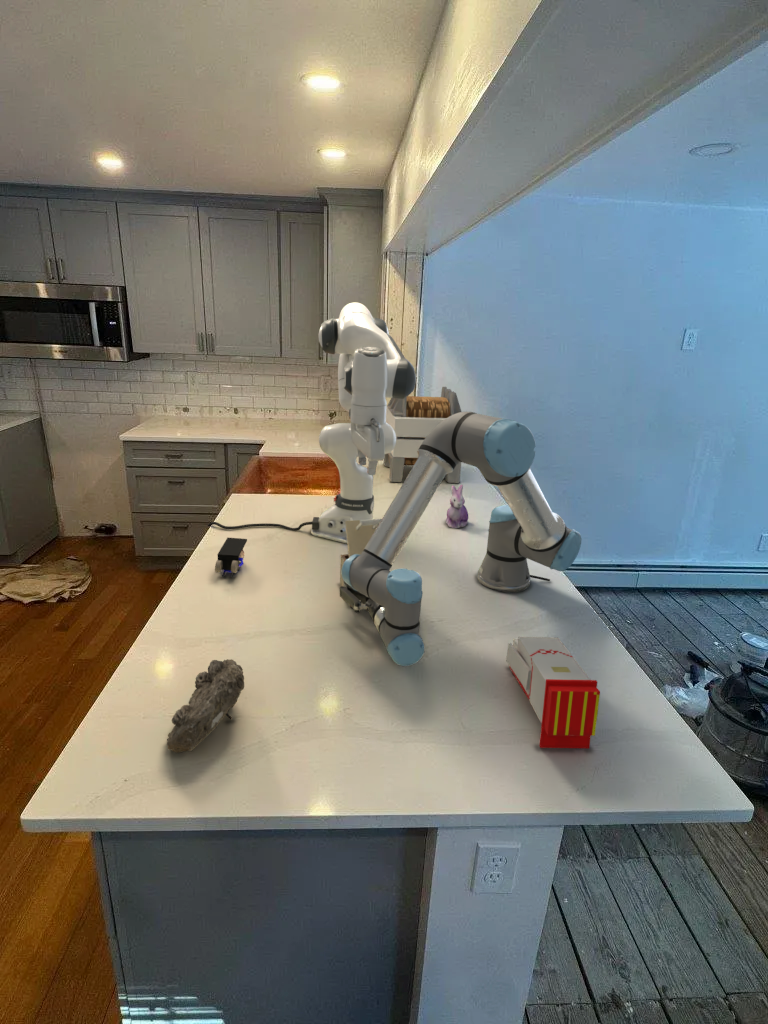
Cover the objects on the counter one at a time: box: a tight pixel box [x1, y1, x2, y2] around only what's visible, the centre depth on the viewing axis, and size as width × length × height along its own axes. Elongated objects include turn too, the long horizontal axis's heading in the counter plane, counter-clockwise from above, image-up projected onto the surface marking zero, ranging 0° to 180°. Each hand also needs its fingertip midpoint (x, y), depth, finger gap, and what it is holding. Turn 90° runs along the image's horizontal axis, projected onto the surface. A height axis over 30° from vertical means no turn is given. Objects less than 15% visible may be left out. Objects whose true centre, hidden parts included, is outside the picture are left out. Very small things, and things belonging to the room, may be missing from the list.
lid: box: [345, 518, 382, 557], centre depth 146 cm, size 14×10×8 cm
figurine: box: [445, 484, 469, 529], centre depth 209 cm, size 9×10×15 cm
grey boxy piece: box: [383, 386, 462, 484], centre depth 268 cm, size 34×33×41 cm
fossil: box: [166, 658, 245, 754], centre depth 106 cm, size 22×10×15 cm
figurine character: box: [214, 537, 248, 578], centre depth 166 cm, size 7×8×15 cm
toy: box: [505, 636, 601, 749], centre depth 115 cm, size 12×13×30 cm
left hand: (366, 469), depth 145 cm, fingers open, 8 cm apart
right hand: (365, 575), depth 152 cm, fingers closed on chest, 10 cm apart
